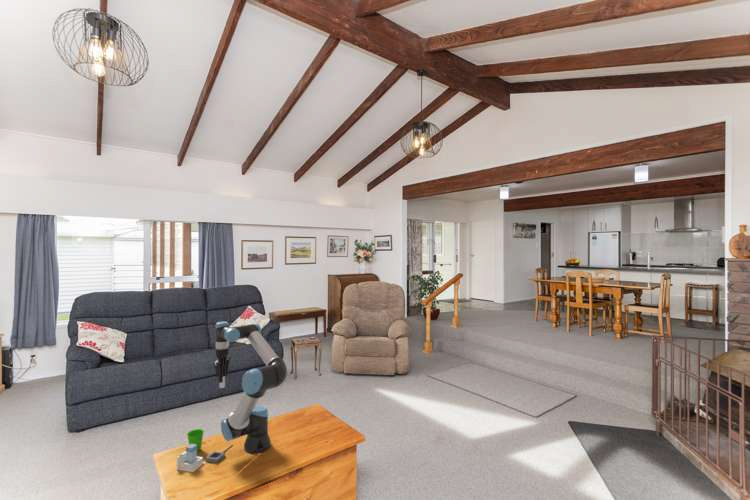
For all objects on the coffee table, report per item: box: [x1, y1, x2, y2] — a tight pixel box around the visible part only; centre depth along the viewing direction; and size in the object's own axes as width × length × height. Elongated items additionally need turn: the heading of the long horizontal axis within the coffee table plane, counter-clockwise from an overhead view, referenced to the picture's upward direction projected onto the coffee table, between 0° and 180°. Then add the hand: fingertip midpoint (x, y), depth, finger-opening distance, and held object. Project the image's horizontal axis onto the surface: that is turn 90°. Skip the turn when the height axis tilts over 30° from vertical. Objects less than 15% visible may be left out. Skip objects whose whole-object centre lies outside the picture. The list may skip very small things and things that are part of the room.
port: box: [176, 450, 206, 473], centre depth 204 cm, size 10×10×8 cm
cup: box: [186, 428, 205, 453], centre depth 219 cm, size 9×9×11 cm
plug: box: [185, 444, 198, 464], centre depth 204 cm, size 4×4×10 cm
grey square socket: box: [205, 450, 226, 464], centre depth 210 cm, size 7×7×3 cm
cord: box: [222, 444, 234, 454], centre depth 220 cm, size 1×12×1 cm, turn 165°
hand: (222, 387), depth 227 cm, fingers closed
